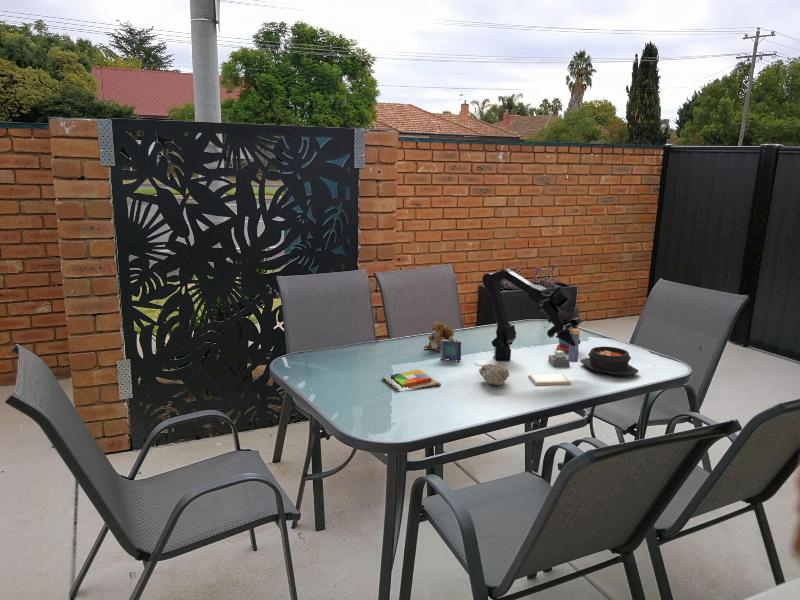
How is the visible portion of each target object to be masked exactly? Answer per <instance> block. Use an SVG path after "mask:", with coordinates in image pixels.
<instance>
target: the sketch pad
mask: <svg viewBox="0 0 800 600" xmlns="http://www.w3.org/2000/svg"><path fill="white" fill-rule="evenodd" d="M528 379H529V380H530V379H531V380H532V381H531V380H530V381H531V382H532V383H533V384H534V385H535V386H568V385H571V384H572V382H571V381H570V379H568V378H567V377H566V376H565V375H564V374H563V373H560V374H559V373H556V374H555V373H554V374H553V373H551V374H550V373H549V374H548V373H546V374H528Z"/></svg>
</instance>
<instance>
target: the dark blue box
mask: <svg viewBox="0 0 800 600" xmlns="http://www.w3.org/2000/svg"><path fill="white" fill-rule="evenodd" d="M453 337H454V336H451V337H449V338H450V340H441V352H440V360H442V359H449V360H457V361H456V362H460V361H459V360H462V341H461V340H458V339H454V338H453Z"/></svg>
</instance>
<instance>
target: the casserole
mask: <svg viewBox="0 0 800 600" xmlns="http://www.w3.org/2000/svg"><path fill="white" fill-rule="evenodd" d="M587 355H588V357H586V358H582V359H580V361H579V362H580V363H581V364H583V365H585V366H586V367H587V368H589V369H591V370H593V371H596V372H598V373H601V374H607V375H618V376H630V375H635V374H638V373H639V369H637V368H636V367H634V366H632V365H631V364H629V362H630V360H631V359H632V357H631V356H630V352H629V351H627V350H625V349H623V348H620V347H614V346H595V347H592V348H591V349H590V351H589V352H588V354H587Z"/></svg>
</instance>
